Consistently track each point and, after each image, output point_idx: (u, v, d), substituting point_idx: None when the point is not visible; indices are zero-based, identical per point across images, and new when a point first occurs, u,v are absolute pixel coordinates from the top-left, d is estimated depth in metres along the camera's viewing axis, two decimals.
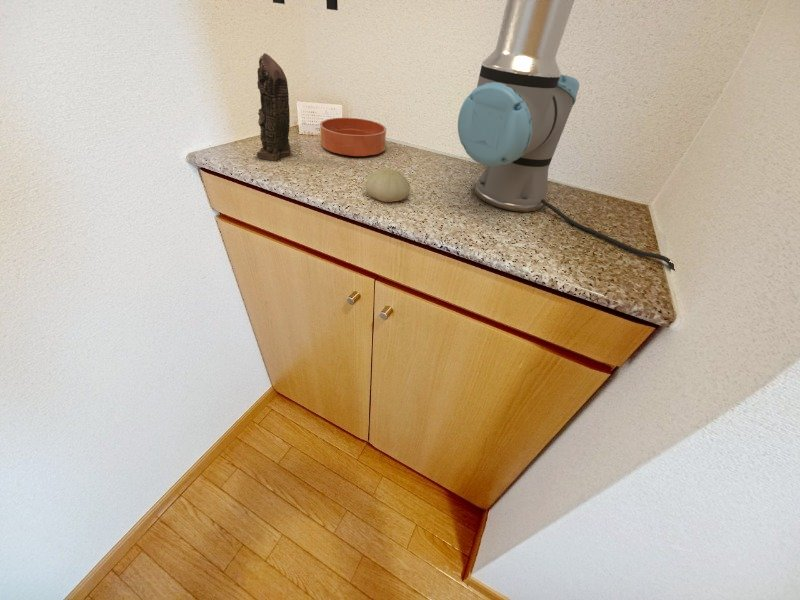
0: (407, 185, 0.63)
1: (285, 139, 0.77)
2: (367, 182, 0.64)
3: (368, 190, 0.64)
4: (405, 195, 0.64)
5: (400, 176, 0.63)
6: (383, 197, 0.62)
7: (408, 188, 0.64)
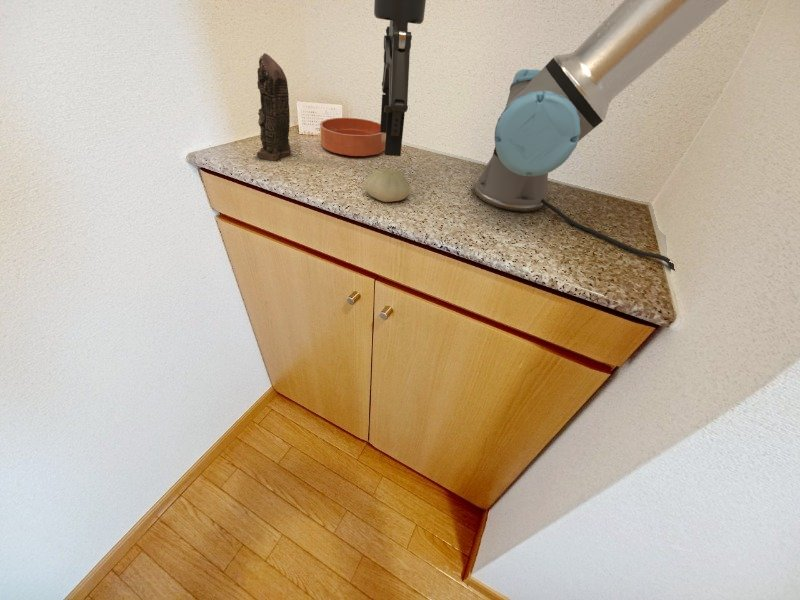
0: (407, 185, 0.63)
1: (285, 139, 0.77)
2: (367, 182, 0.64)
3: (368, 190, 0.64)
4: (405, 195, 0.64)
5: (400, 176, 0.63)
6: (383, 197, 0.62)
7: (408, 188, 0.64)
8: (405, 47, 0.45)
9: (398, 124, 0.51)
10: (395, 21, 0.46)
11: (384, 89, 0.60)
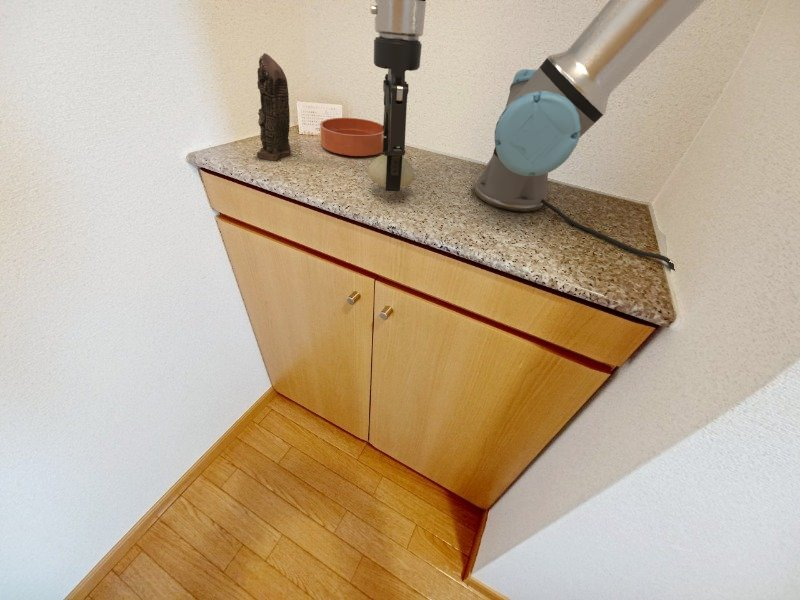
0: (411, 170, 0.61)
1: (285, 139, 0.77)
2: (370, 168, 0.62)
3: (371, 176, 0.62)
4: (409, 181, 0.62)
5: (404, 161, 0.61)
6: None
7: (412, 173, 0.62)
8: (402, 100, 0.50)
9: (397, 165, 0.56)
10: (393, 70, 0.50)
11: (385, 132, 0.63)
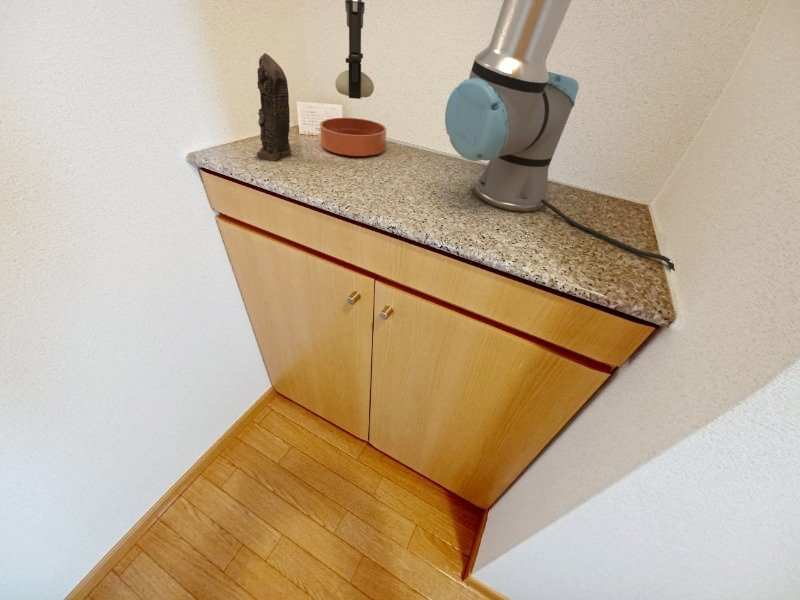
0: (370, 82, 0.75)
1: (285, 139, 0.77)
2: (336, 79, 0.75)
3: (337, 86, 0.75)
4: (369, 91, 0.75)
5: (364, 74, 0.75)
6: None
7: (371, 85, 0.75)
8: (357, 11, 0.63)
9: (356, 72, 0.70)
10: None
11: None
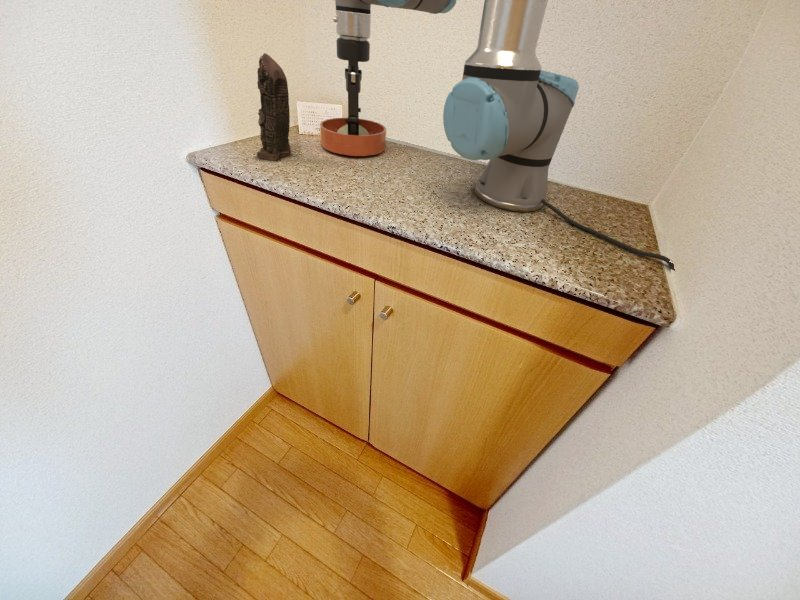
0: None
1: (285, 139, 0.77)
2: None
3: None
4: None
5: (362, 128, 0.84)
6: None
7: None
8: (355, 82, 0.72)
9: (354, 130, 0.79)
10: (349, 61, 0.72)
11: None
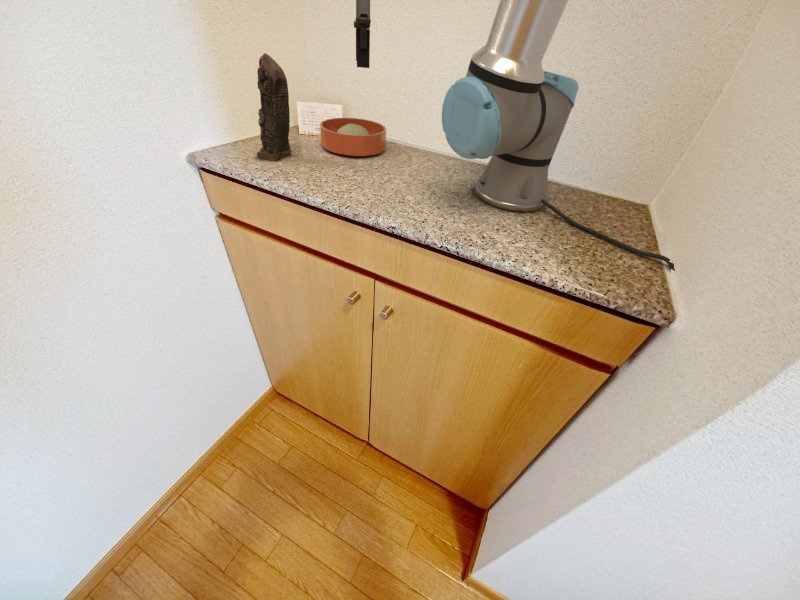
0: None
1: (285, 139, 0.77)
2: None
3: None
4: None
5: (362, 128, 0.84)
6: None
7: None
8: None
9: (365, 37, 0.66)
10: None
11: None
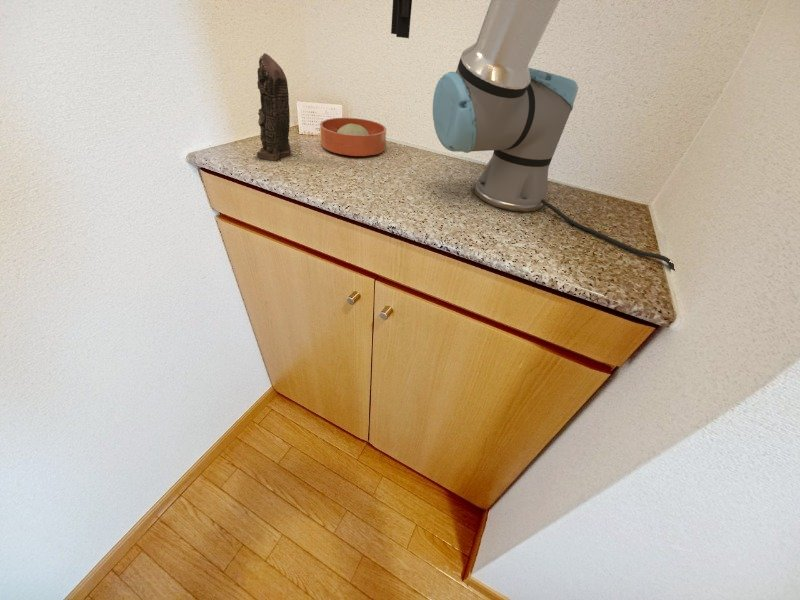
0: None
1: (285, 139, 0.77)
2: None
3: None
4: None
5: (362, 128, 0.84)
6: None
7: None
8: None
9: (407, 5, 0.65)
10: None
11: None
